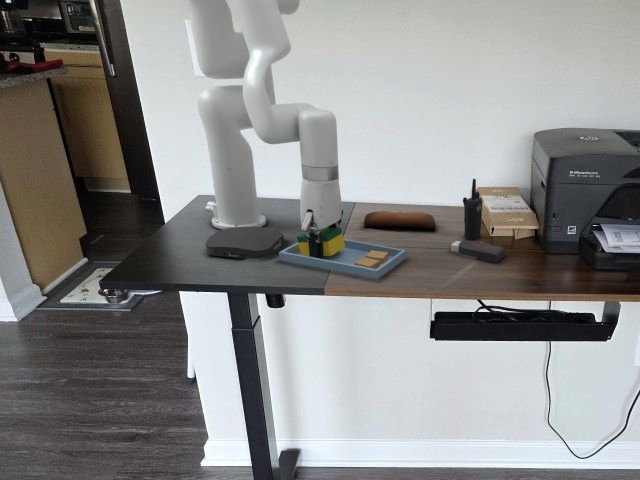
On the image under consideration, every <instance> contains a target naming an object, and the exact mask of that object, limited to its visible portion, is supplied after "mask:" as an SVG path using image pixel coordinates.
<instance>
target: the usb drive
mask: <svg viewBox="0 0 640 480" xmlns="http://www.w3.org/2000/svg"><path fill="white" fill-rule="evenodd" d="M450 251H451V252H453V253H454V252H455V253H458V254H460V255H464V256H468V257H474V258H475V260H477V261H478V260H479V261H482V262H489V263H492V264H493V263H494V264H497V263H499V262H500V261H501V260H502V259H504V257H505V251H506V250H505V248H504V247H503V246H499V245H495V244H491V243H485V242H479V241H473V240H470V239H462V241H459V240H455V241H454V242H453V243H451V245H450Z"/></svg>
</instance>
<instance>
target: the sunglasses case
mask: <svg viewBox="0 0 640 480" xmlns="http://www.w3.org/2000/svg"><path fill="white" fill-rule="evenodd" d="M363 221H364V222H363V228H364V229H366V228H381V227H385V228H386V227H399V228H405V227H406V228H408V227H409V228H424V229H433V230H434V231H435V230H436V220H435V217H434V216H433V215H432V214H429V213H427V212H424V211H423V212H422V211H404V212H403V211H388V210H377V211H372V212H368V213H367V214H366V215H365V216H364V220H363Z"/></svg>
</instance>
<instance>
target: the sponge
mask: <svg viewBox="0 0 640 480" xmlns="http://www.w3.org/2000/svg"><path fill="white" fill-rule="evenodd" d="M313 232H314V234H315V235H317V231H316V230H313ZM344 239H345V238H344V234H343V230H342V227H340V228H327V227H326V228H324V229H323V230H322V236H321V241H320V242H323V256H332V255H333V254H335V253H337V252H338V251H340V250H341V249H343V248H345V243H344ZM296 240H297V243H298V244H299V248H300V252H301V255H304V256H309V244H308V241H307V238H306V237H305V235H304V233H303V232H302V233H300V234H299V235H297V236H296Z"/></svg>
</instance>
